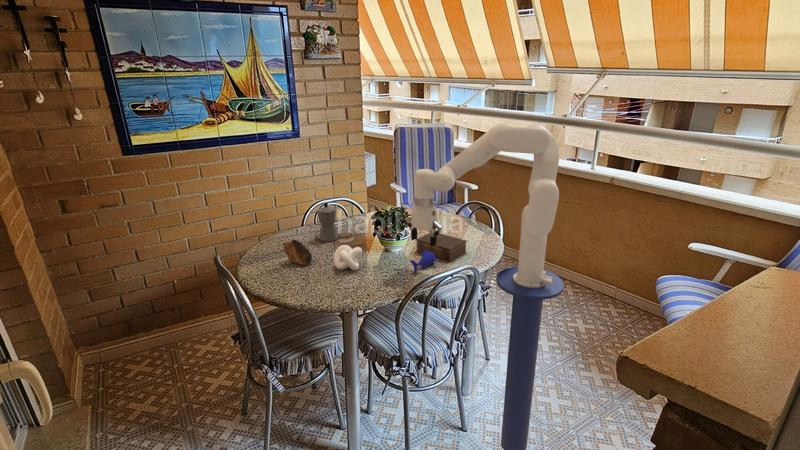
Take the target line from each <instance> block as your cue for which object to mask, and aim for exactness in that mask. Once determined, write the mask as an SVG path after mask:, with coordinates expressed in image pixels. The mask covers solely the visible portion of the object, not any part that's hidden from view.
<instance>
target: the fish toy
mask: <svg viewBox="0 0 800 450" xmlns="http://www.w3.org/2000/svg"><path fill="white" fill-rule="evenodd" d="M434 262H439V258H436V256H435V255H434V254H433V253H432V252H427V250H425V251H424V252H423V253H421V257H420V259H419V261H418V262H416V261H415V260H413V259H411V260H409V263H411V265H412V266H413V274H414V275H415V274H416V273H417V271H418V267H419V266H420V267H421V268H422V269H426V268H427V266H430V265H431V264H433V263H434Z"/></svg>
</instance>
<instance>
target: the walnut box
mask: <svg viewBox="0 0 800 450" xmlns="http://www.w3.org/2000/svg"><path fill="white" fill-rule="evenodd" d="M433 233H434V232H433ZM430 237H431V234H430V232H429V233H426V234H425V235H422V236H420V237H417V239H415V241H416V252H417V253H420V254H422V253H423V252H424V251H425V250H427V252H432V253H433V254H434V255H435V256H436V259H438V260H442V261H445V262H449V263H451V262H453V261H455V260H456V259H458V258H460V257H462V256H463V255H465V254H466V252H467V251H466V250H467V242H468V240H466V239H462V238H458V237H454V236H451V235H448V234H443V233H440V234H438V235H437V243H436V245H434V246H430Z"/></svg>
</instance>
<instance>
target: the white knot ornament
mask: <svg viewBox="0 0 800 450" xmlns="http://www.w3.org/2000/svg"><path fill="white" fill-rule="evenodd" d="M362 255H363V249H362V248H361V247H360V246H355V247H353V248H352V247H351V246H350V245H347V244H342V245H339V246H338V247H337V248H336V250H335V252H334V254H333V264H334V266H335V268H336V269H337V270H339V271H344V270H346V269H348V268H349V269H350V270H352V271H358V270H359V269H360V264H359V260H360V259H361V258H362Z"/></svg>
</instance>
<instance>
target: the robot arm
mask: <svg viewBox="0 0 800 450" xmlns="http://www.w3.org/2000/svg"><path fill="white" fill-rule="evenodd" d="M501 152H504V153H513V154H515V153H517V154H518V153H519V154H532V155H533V162H532V169H531V173H530V179H529V183H528V187H527V189H528V190H527V192H528V195H529V199H528V204H526V205H525V206H524V207H523V210H522V212H521V219H520V221H521V222H520V224H521V225H520V240H519V241H520V242H519V251H518V262H517V263H518V264H517V267H518V273H515V274H514V276H513V280H514V282H515V283H517V284H518V285H520V286H523V287H527V288H539V287H543V286H545V285H546V283H547V284H550V285H552V283H553V280H552V277H548V276H546V271H547V270H546V271H543V270H545V261H546V251H547V243H548V235H549V233H550V232H551V231H552V229H553V227H554V225H555V224H554V223H555V220H556V219H555V218H556V214H557V210H558V205H559V200H560V191H559V190H560V189H559V188H558V185H557V183H556V182H557V181H556V180H557V175H558V168H559V163H560V148H559V145H558V142H557V140H556V138H555V136H554V135H553V134H552V133H551V131H549V130H548V128H546V127H545V126H543V125H541V124H536V123H535V124H531V125H528V126H526V127H525V126H524V127H522V126H512V125H511V126H510V125H509V124H508V123H505V122H504V123H503V122H500V123H496V125H494V126H492V127H491V128H490V129H489V130H487V131H486V132H485V133H484V134H483V135H481V136H480V137H479V138H477V139H476V140H475V141H474V142H472V143H471V144H470V145H468V146H467V147H465V148H464V149H463V150H462V151H461V152H460V153H458V154H457V155H455V156H454V157H453V158H451V159H450V160H449V161H448V162H446V164H444V165H443V166H442V167H441V168H439V169H438V170H437V172H435V171H434V170H433V169H430V168H419V169H416V170H415V173H414V203H413V205H412V210H411V216H409V217H407V218H406V222H407V226H408V227H409V231H410V240H411V241H414V240H415V241H416V239H418V230H421V231H425V232H429V233H430V234H431V237H430V246H434V245H436V243H437V235H438V234H442V233H441V232H442V230H443V226H442V225H441V224H439V223H438V211H437V205H436V204H437V201H436V200H435V192H436V191H437V192H442V193H445V192H449V191H450V190H452V189H453V187H454V185H455V182H456V181H457V180H458V179H460V178H461V177H463V175H465V174H466V173H468V172H469V171H471V170H473V169H477V168H480V167H482V166H484V165H485V164H486V163H488V162H489V161H490V160H491V159H492V158H494V157H495V156H497V155H498V154H499V153H501ZM433 232H434V233H433Z"/></svg>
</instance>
